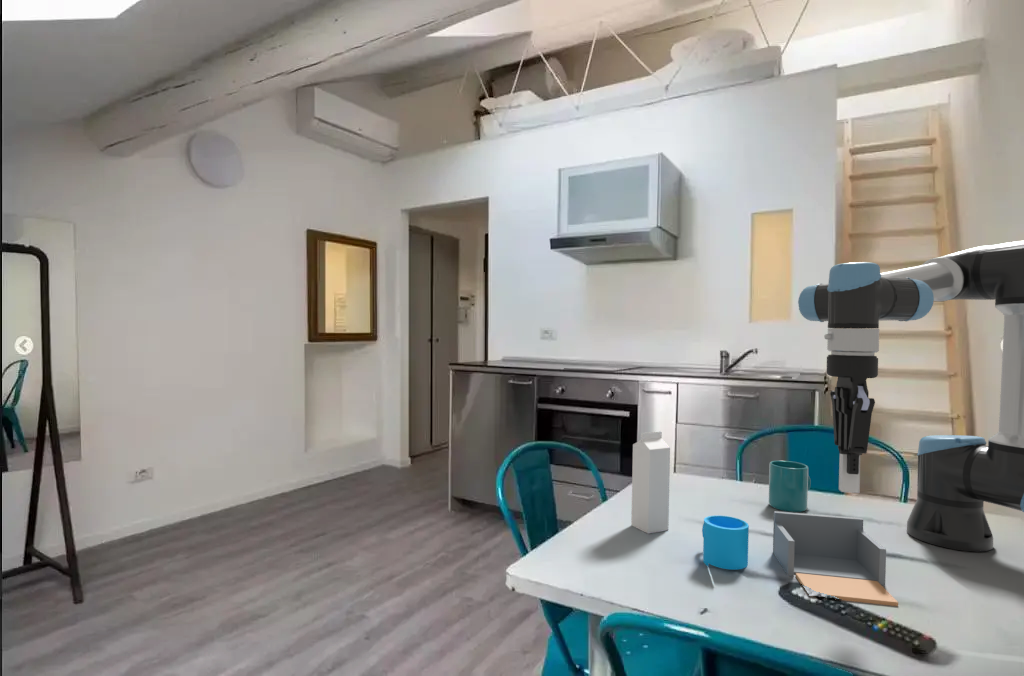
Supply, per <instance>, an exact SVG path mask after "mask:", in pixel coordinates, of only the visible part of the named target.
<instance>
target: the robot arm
mask: <svg viewBox="0 0 1024 676" xmlns="http://www.w3.org/2000/svg"><path fill="white" fill-rule="evenodd" d="M952 300H956V301H957V300H972V301H973V300H975V301H977V300H978V301H979V300H981V301H988V300H989V301H991V300H995V301H994V303H995V304H994V308H995V309H997V311H999V312H1000V313H1001V314H1002V315H1003V317H1004V318H1003V320H1004V321H1003V336H1002V355H1001V359H1002V360H1001V374H1000V375H1001V378H1000V379H1001V380H1000V394H999V395H1000V396H999V399H1000V400H999V413H998V415H999V417H998V418H999V419H998V431H997V433H995V434H994V435H992V436H991V437H989V438H988V442H987V441H986V439H985V437H984V436H983V437H982V436H979V435H978V436H976V435H960V434H959V435H955V434H954V435H953V434H951V435H950V434H941V435H940V434H939V435H938V434H937V435H933V434H932V435H927V436H923V437H921V438H920V440H919V442H918V449H917V450H918V451H917V453H916V456H917V484H916V486H917V489H916V490H917V491H916V492H917V493H916V501H915V503H914V505H913V507H912V509H911V512H910V514H909V516H908V519H907V521H906V533H907V534H909V535H910V536H911V537H913V538H914V539H917V540H919V541H922V542H924V543H927V544H929V545H933V546H937V547H941V548H946V549H952V550H958V551H964V552H988V551H991V550H993V549H994V536H993V533H992V530H991V527H990V523H989V522H988V518H987V516H986V513H985V511H984V510H985V509H984V503H989V504H992V505H998V506H1001V507H1005V508H1009V509H1013V510H1017V511H1019V512H1022V513H1024V240H1017V241H1012V242H1011V241H1010V242H1004V243H997V244H987V245H979V246H975V247H971V248H967V249H965V250H961V251H956V252H953V253H950V254H946V255H942V256H938V257H934V258H930V259H928V260H926V261H924V262H923V263H922V264H921V265H916V266H912V267H907V268H901V269H897V270H891V271H885V272H881V266H880V265H879V264H878V263H875V262H871V261H870V262H869V261H862V262H861V261H859V262H855V261H854V262H844V263H838V264H835V265H833V266H831V268H829V274H828V283H817V284H814V285H808V286H806V287H805V288H803V289H802V291H801V292H800V294H799V297H798V301H797V304H798V310H799V313H800V314H801V316H802V317H803V318H804V319H806V320H807V321H811V322H820V323H824V322H827V333H825V334H824V339H825V340H827V342H826V343H827V347H826V348H827V349H826V350H827V352H831V354H827V356H826V374H827V376H829V377H835V378H837V380H836V384H835V385H836V386H835V387H834V390H830V393H829V395H830V401H831V405H832V406H831V408H832V420H833V422H832V424H833V440H834V446H837V449H838V453H839V459H838V460H839V461H838V462H839V465H838V467H839V469H838V474H839V475H838V490H839V491H840V492H841V493H850V494H851V493H852V494H853V493H854V494H860V490H861V489H860V486H861V484H860V483H861V456H862V455H863V454H867V452H868V446H869V445H868V444H869V438H870V430H871V422H872V416H873V415H872V413H873V411H874V407H875V404H876V400H875V398H873V397H872V398H870V397H869V389H868V385H867V379H874V378H875V379H876V378H877V377H878V375H879V358H878V357H877V355H875V353H879V351H880V327H879V325H880V322H881V321H897V322H909V321H916V320H920V319H922V318H924V317H926V315H928V314H929V313H930V311H931V310H932V309H933V305H934V302H947V301H952ZM987 443H988V445H987Z"/></svg>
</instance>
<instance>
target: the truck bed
mask: <svg viewBox="0 0 1024 676" xmlns="http://www.w3.org/2000/svg"><path fill="white" fill-rule="evenodd" d="M772 554H773V555H774V557H775V558H776V560H777V562H779V564H780V566H781V567H782V570H784V572H785V573H786V575H787V576H788V577H795V575H796V573H801V574H811V575H821V576H831V577H841V578H851V579H861V580H871V581H878V582H879V583H880V584H881V585H882V586H886V573H887V572H886V571H887V565H886V564H887V549H886V548H885V547H884V546H883V545H881V543H879V542H878V541H877V540H876V539H874V537H872V536H871V535H870V534H869V533H867V532H866V531H865V530H864V519H863V518H862V517H853V516H852V517H851V516H839V515H838V516H837V515H827V514H815V513H813V514H812V513H802V512H788V511H778V510H777V511H775V510H774V511H773V535H772Z"/></svg>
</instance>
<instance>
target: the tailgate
mask: <svg viewBox="0 0 1024 676" xmlns="http://www.w3.org/2000/svg"><path fill="white" fill-rule="evenodd" d="M795 578H796V579H797V581H798V582H799V584H800V585H801V584H802V585H804V586H807V587H809V588H811V589H812V590H814V591H816V592H820V593H824V594H827V595H831V596H835V597H837V598H839V599H842V600H841V601H847V602H855V603H865V604H874V605H884V606H891V607H899V601H898V600H897V599H896V598H895V597H894V596H893V595H892V594H891V593H890V592H889V591H888V590H887V589H885V587H884V585H881V584H880V583H879V582H878V581H871V580H861V579H851V578H841V577H831V576H821V575H811V574H801V573H796V574H795ZM802 585H801V586H802Z"/></svg>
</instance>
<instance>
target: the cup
mask: <svg viewBox="0 0 1024 676" xmlns="http://www.w3.org/2000/svg"><path fill="white" fill-rule="evenodd" d="M768 466H769V468H768V469H769V473H768V504H769V505H770V507H772V508H774V509H776V510H777V511H778V510H780V511H781V512H791V513H802V512H805V511H807V510H808V502H809V501H808V498H809V497H808V495H809V494H808V493H809V490H810V489H811V483H812V481H811V478H810V476H809V466H808V465H806V464H805V463H802V462H797V461H791V460H790V461H789V460H771V461H770V462H769V465H768Z"/></svg>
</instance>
